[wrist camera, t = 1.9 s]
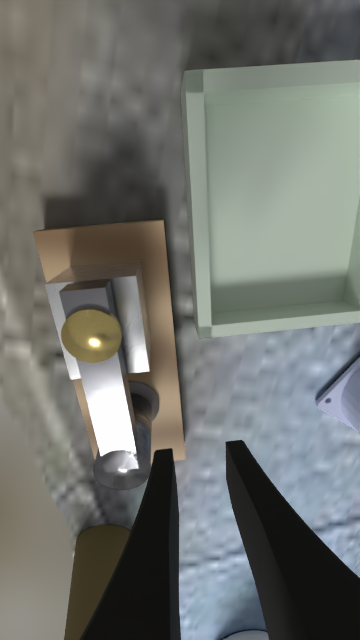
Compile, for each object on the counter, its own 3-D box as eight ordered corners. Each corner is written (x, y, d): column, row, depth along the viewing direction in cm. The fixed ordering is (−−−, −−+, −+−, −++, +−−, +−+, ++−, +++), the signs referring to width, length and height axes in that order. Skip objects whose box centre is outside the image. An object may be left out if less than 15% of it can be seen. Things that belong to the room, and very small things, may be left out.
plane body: (183, 443, 24) (186, 462, 22) (101, 453, 23) (96, 473, 22) (162, 219, 16) (163, 221, 15) (44, 229, 16) (30, 232, 14)
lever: (154, 425, 20) (153, 489, 15) (111, 430, 19) (98, 496, 15) (131, 263, 15) (119, 287, 11) (75, 268, 15) (41, 294, 11)
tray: (347, 307, 20) (372, 321, 17) (194, 323, 19) (199, 338, 17) (387, 77, 15) (428, 55, 12) (180, 91, 14) (184, 70, 12)
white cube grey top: (151, 338, 18) (149, 371, 14) (88, 344, 18) (70, 379, 14) (140, 259, 16) (135, 275, 12) (69, 266, 16) (44, 284, 12)
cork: (90, 518, 26) (48, 713, 16) (147, 533, 28) (141, 721, 18) (66, 553, 28) (15, 749, 18) (121, 566, 30) (102, 753, 20)
